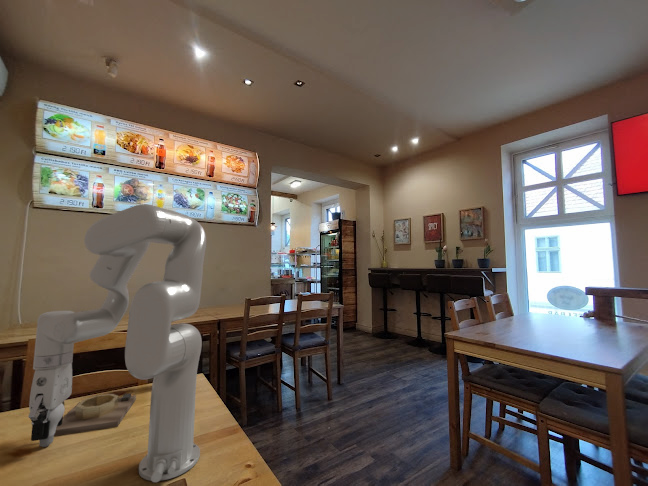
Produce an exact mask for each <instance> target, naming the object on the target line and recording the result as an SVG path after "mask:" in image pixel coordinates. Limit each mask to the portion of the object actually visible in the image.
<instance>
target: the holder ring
mask: <svg viewBox="0 0 648 486" xmlns="http://www.w3.org/2000/svg"><path fill="white" fill-rule="evenodd" d="M119 397H120V396H119V395H117V394H115V393H106V394H105V393H104V394H96V395H93V396H91V397H87V398H85V399H82V400H81V401H79V402H80V403H79V402H78V403H79V404H78V403H77V404H78V405H77V404H76V405H77V406H76V405H75V406H76V414H75V417H77V418H80V419H82V420H84V419H91V418H99V417H101V416H104V415H106V414H109V413H111V412H114V410H115V409H116V408H117V407H118V400H119Z"/></svg>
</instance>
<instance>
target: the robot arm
mask: <svg viewBox="0 0 648 486" xmlns="http://www.w3.org/2000/svg"><path fill="white" fill-rule="evenodd" d="M83 241H84V246H85V248H86V249H87V251H88V252H90V253H92V254H94V255H98V256H99V257H98V259H97V260H96V261H95V264H94V265H93V267H92V269H91V270H90V272H89V278H90V280H91V281H92V282H93V283H94V284H96V285H97V286H99V287H101V288H103V289H105V290H107V296H106V298H105V299H104V302H103V303H102V305H101V306H100V308H95V309H89V310H83V311H77V312H76V311H73V310H53V311H47V312H43V313H41V314H39V316H38V317H37V323H36V331H35V333H36V334H35V344H34V354H33V362H32V363H33V366H32V370H34V373H33V378H32V381H31V382H32V383H31V388H30V395H29V403H28V406H29V407H28V409H29V412H28V413H29V414H28V417H27V418H29V419H30V421H31V424H30V425H31V436H30V441H31V442H34V441H35V442H36V441H40V440H43V439H47V438H48V437H49V427H50V421H48V419H49V415H50V410H52V409H55V408H56V407H57V406H58V405H60V404H61V403H62V404H63V405H64V406H65V401H66V400H67V399H68V398H69V397H70V396H71V395H72V390H73V357H74V348H75V347H74V346H75V344H77V343H79V342H84V341H87V340H91V339H95V338H99V337H104V336H107V335H109V334H110V333H112V332H113V331H114V330H115V329H116V328H117V327H118V325H119V324H120V322H121V321H122V319H123V317H124V316H125V314H126V312H127V310H128V308H129V312H128V321H127V322H128V323H127V329H126V330H127V331H126V339H125V346H124V361H125V367H126V369H127V370H128V371H127V372H128V373H129V374H130V375H131V376H132V377H133V378H135V379H138V380H150V379H153V381H152V386H151V393H150V406H149V407H150V409H149V422H148V423H149V425H148V442H147V444H148V445H147V454H145V456H144V457H143V458H142V459H141V461H140V462H139V465H138V474H139V476H140V477H141V478H143V480H147V481H151V482H152V483H158V482H160V481H161V482H162V481H167V480H171V479H173V478H176V477H179V476H180V475H184V474H185V473H186V472H188V471H189V470H191V469H192V468H193V467H194V466H195V465H196V464H197V463H198V461H199V458H200V455H201V448H200V446H198V445H197V443H195V442H194V436H195V435H194V434H195V415H196V414H195V413H196V412H195V411H196V390H197V377H198V375H197V374H198V368H199V363H200V362H199V361H200V356H201V353H202V347H203V343H202V342H203V341H202V335H201V332H200V331H199V329H198V328H196V327H195V326H194V325H192V324H190V323H186V322H185V323H175V324H172V323H173V322H176V321H180V320H184V319H187V318H190V317H191V316H193V315H195V314H196V312H197V311H198V309H199V306H200V303H201V295H202V286H203V283H202V281H203V273H204V262H205V261H204V260H205V254H206V249H207V234H206V231H205V229H204V227H203V226H202V225H201V223H199V221H197V220H196V219H194V218H192V217H191V216H188V215H186V214H184V213H180V212H177V211H175V210H171V209H167V208H164V207H160V206H156V205H152V204H144V203H143V204H137V205H133V206H131V207H128V208H126V209H125V208H124V209H123V210H119V211H117V212H115V213H112V214H109V215H106V216H105V217H102V218H100V219H98V220H96V221H95V222H94V223H93V224H91V225H90V226H89V227H88V229H87V230H86V232H85V234H84V239H83ZM151 243H156V244H162V245H163V244H165V245H166V244H167V245H171V246H173V248H172V249H171V251H170V252H169V253H168V255H167V258H166V260H165V265H164V266H165V267H164V275H163V280H155V281H152V282H151V281H150V282H148V283H146V284H144V285H142V286H141V287H140V288H139V289H138V290H137V291H136V293H135V294H134V295H133V298H132V300H131V303H130V295H129V293H130V292H129V289H128V284H129V281H130V280H131V278H132V276H133V275H134V273H135V272H136V270H137V268H138V266H139V264H140V263H141V261H142V260H143V257H145V255H146V253H147V251H148V249H149V247H150V245H151ZM129 305H130V306H129ZM42 406H45V407H46V409H40V408H41V407H42ZM44 411H45V415H44V416H43V415H42V414H40V413H39V412H44ZM63 417H64V415H63V416H62V418H61V419H60V421H59V422H58V424H57V426H60V425H61V424H62V421H63Z"/></svg>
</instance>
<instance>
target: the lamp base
mask: <svg viewBox="0 0 648 486" xmlns="http://www.w3.org/2000/svg"><path fill="white" fill-rule="evenodd" d="M136 399H137V394H135V395H134V394H133V395H132V393H131V392H130V393H124V394H123V395H122V396H119V400H118V407H117V408H116V409H115V410H114V412H111V413H109V414H106V415H104V416H101V417H99V418H91V419H84V420H82V419H80V418H77V417H75V414H76V406H77V405H78V404H79V403H80V402H81V401H79V402H78V403H77V404H76V405H75V406H73V407H72V408H71V409H70V410H69V411H67V413H66V414H65V415H63V421H62V424H61V425H60V426H57V427H56V431H55V434H54V437H56V436H63V435H64V436H65V435H70V434H76V433H77V434H78V433H84V432H91V431H97V430H105V429H110V428H111V429H112V428H117V427H119V425H120V424H121V423H122V421H123V419H124V418H125V417H126V415H127V413H129V410H130V409H131V408H132V406H133V405H134V404H135V401H136Z"/></svg>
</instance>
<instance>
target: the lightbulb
mask: <svg viewBox="0 0 648 486" xmlns="http://www.w3.org/2000/svg"><path fill="white" fill-rule="evenodd" d="M40 409H46V407H45V406H42V407H41V408H40ZM65 409H66V408H65V404H64V405H63V404H62V403H61V404H60V405H58V406H57V407H56V408H55V409H52V410H50V415H49V419H48V421H50V427H49V437H48V438H47V439H43V440H38V442H39V443H38V444H39V447H43V448H47V447H48V446H50V445H51V444H52V443H53V442H54V439H55V438H54V437H55V436H54V434H55V431H56V427H57V424H58V422H59V421H60V419H61V418H62V416H63V417H64V414H65ZM39 413H40V414H42V415H43V416H44V415H45V411H44V412H39Z"/></svg>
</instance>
